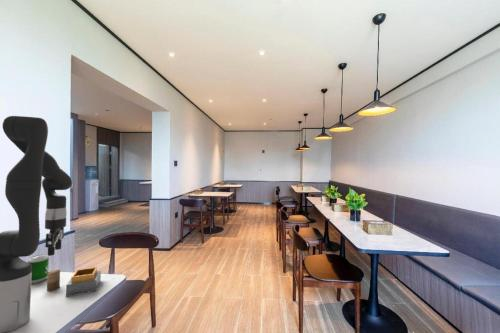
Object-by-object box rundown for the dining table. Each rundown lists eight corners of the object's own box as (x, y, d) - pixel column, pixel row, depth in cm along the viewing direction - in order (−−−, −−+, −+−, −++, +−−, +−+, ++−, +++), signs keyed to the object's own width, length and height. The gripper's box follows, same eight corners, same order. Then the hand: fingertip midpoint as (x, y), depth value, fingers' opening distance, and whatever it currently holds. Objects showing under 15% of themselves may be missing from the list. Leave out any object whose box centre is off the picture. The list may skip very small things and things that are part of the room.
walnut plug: (57, 290, 102) (58, 272, 102) (45, 292, 100) (45, 274, 100) (60, 285, 106) (61, 268, 106) (49, 287, 104) (49, 270, 104)
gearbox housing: (95, 291, 101) (96, 274, 101) (65, 296, 97) (66, 279, 97) (100, 280, 111) (101, 265, 111) (73, 285, 107) (74, 269, 107)
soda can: (42, 283, 108) (43, 258, 108) (23, 285, 106) (24, 259, 106) (51, 276, 115) (52, 253, 116) (33, 278, 113) (34, 254, 113)
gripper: (60, 219, 99) (59, 256, 99) (70, 214, 112) (69, 246, 112) (38, 221, 96) (37, 258, 95) (51, 215, 109) (50, 248, 108)
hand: (54, 252), depth 104 cm, fingers open, 8 cm apart
